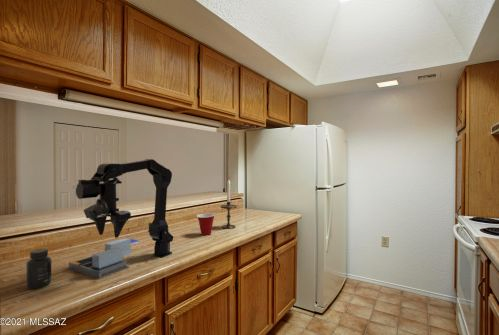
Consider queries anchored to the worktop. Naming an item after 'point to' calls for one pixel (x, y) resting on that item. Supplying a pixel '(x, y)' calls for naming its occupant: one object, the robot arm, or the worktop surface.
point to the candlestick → (228, 208)
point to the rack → (101, 263)
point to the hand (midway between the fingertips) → (108, 236)
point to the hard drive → (134, 241)
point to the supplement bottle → (38, 269)
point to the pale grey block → (120, 245)
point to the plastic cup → (206, 223)
